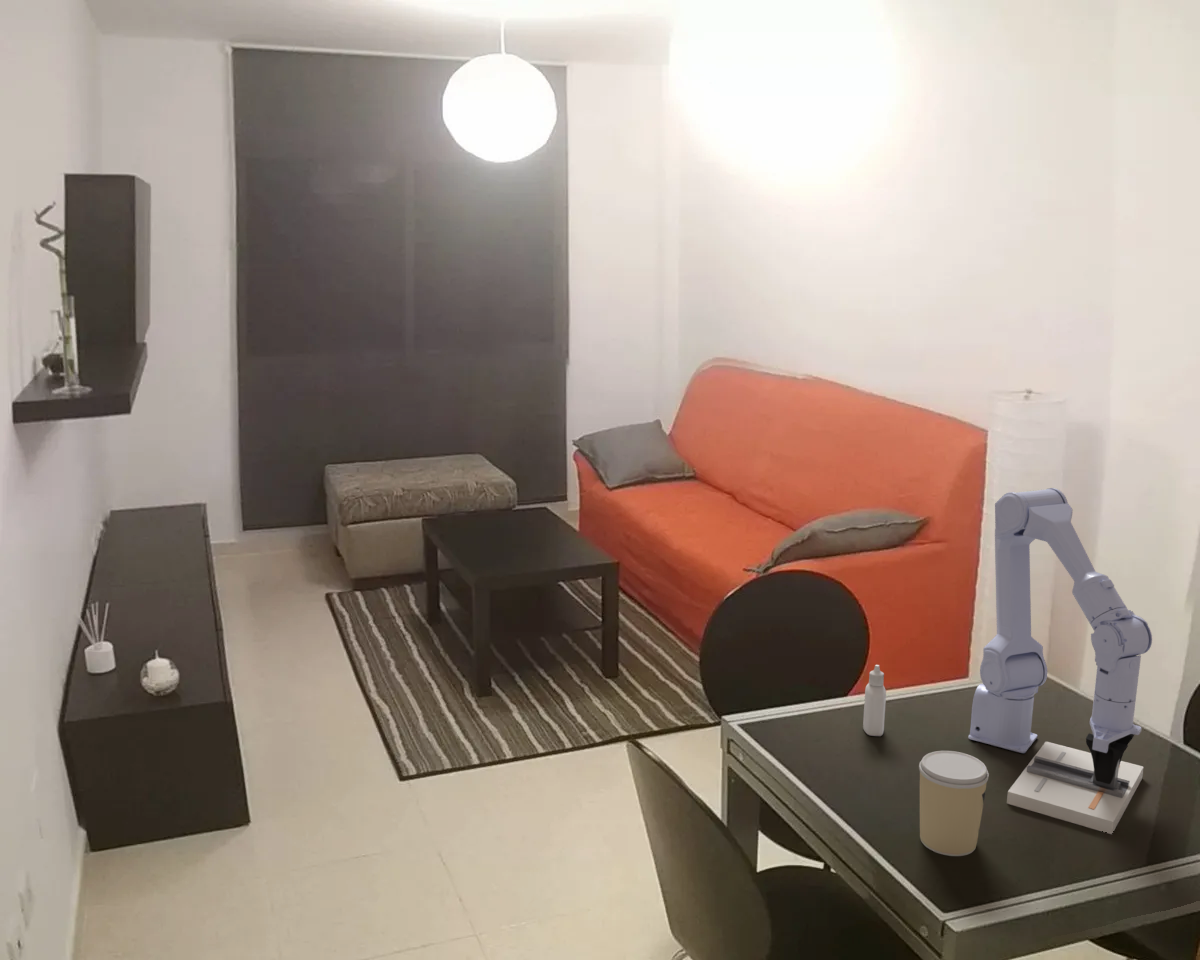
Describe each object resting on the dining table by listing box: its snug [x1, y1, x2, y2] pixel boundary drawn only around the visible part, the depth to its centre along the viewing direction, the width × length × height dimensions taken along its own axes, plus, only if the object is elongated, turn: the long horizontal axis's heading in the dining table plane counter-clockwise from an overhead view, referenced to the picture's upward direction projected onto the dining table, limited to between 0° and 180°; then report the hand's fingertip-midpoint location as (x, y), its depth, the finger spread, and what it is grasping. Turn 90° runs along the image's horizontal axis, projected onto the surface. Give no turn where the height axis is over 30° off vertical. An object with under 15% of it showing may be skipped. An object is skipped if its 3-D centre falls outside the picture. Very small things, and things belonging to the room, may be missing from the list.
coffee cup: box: [918, 750, 990, 857], centre depth 159 cm, size 9×9×12 cm
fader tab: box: [1089, 759, 1121, 790], centre depth 172 cm, size 4×2×6 cm, turn 54°
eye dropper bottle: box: [862, 664, 887, 737], centre depth 194 cm, size 4×6×12 cm
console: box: [1006, 741, 1144, 835], centre depth 175 cm, size 15×21×3 cm
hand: (1105, 777), depth 172 cm, fingers closed on fader tab, 2 cm apart
